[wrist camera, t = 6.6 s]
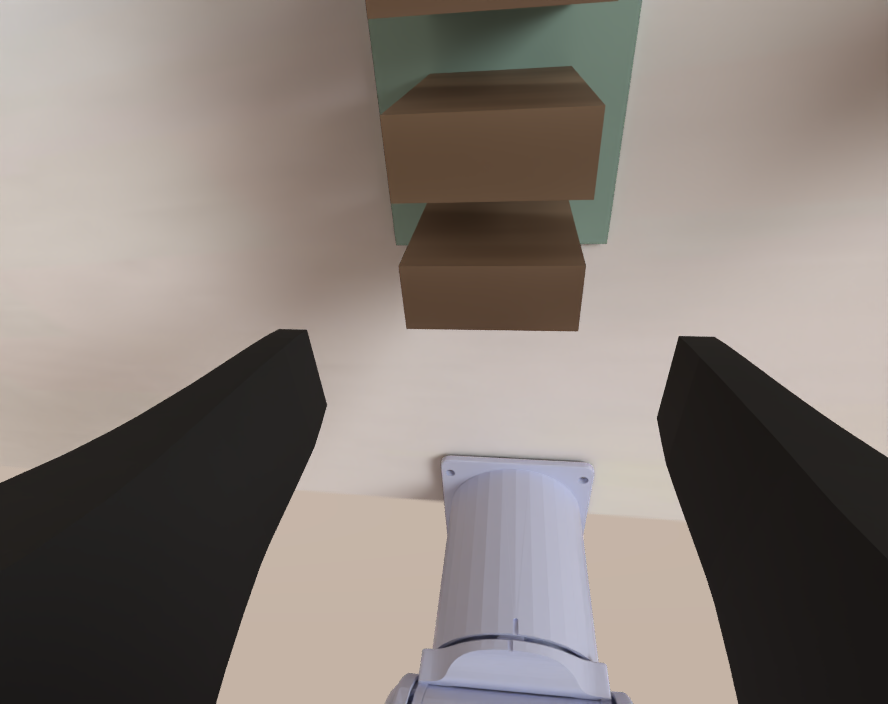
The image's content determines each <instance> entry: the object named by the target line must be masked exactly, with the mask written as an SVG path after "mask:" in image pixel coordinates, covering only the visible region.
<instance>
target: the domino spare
mask: <svg viewBox="0 0 888 704" xmlns="http://www.w3.org/2000/svg"><path fill="white" fill-rule="evenodd" d="M585 269H586V264H585V261H584V257H583V253H582V249H581V245H580V241H579V238H578V234H577V230H576V226H575V222H574V218H573V215H572V211H571V207H570V203H569V200H559V201H507V202H455V203H427V204H426V206H425V208H424V211H423V213H422V215H421V217H420V220H419V222H418V224H417V226H416V229H415V231H414V233H413V235H412V238H411V240H410V242H409V244H408V246H407V249H406V251H405V253H404V255H403V258H402V260H401V262H400V264H399V273H400V281H401V289H402V297H403V305H404V313H405V320H406V328H407V329H456V330H524V331H578V327H579V319H580V311H581V302H582V294H583V285H584V277H585Z"/></svg>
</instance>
